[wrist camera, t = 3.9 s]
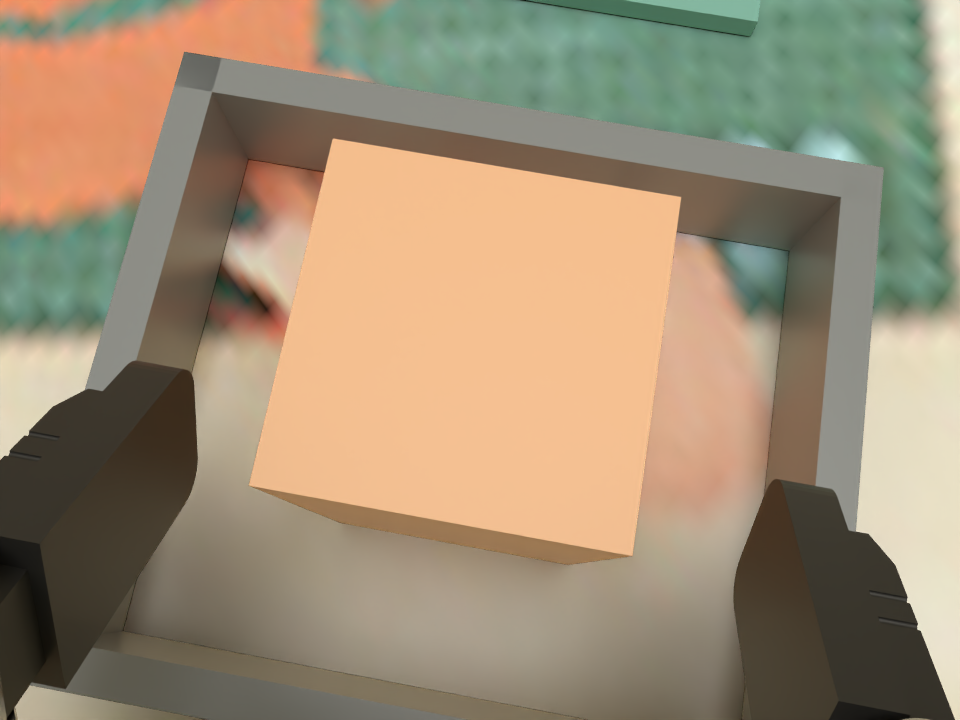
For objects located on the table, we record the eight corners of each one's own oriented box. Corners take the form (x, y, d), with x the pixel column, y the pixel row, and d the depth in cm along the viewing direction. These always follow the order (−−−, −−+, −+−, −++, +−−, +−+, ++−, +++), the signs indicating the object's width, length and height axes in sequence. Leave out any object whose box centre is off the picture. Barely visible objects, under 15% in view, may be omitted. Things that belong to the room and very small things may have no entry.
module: (339, 522, 19) (248, 485, 11) (386, 306, 20) (332, 138, 13) (567, 564, 19) (632, 556, 11) (601, 343, 20) (680, 196, 12)
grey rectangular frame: (74, 663, 18) (-1, 679, 15) (224, 123, 21) (184, 51, 18) (773, 798, 18) (831, 840, 15) (826, 224, 21) (883, 167, 18)
